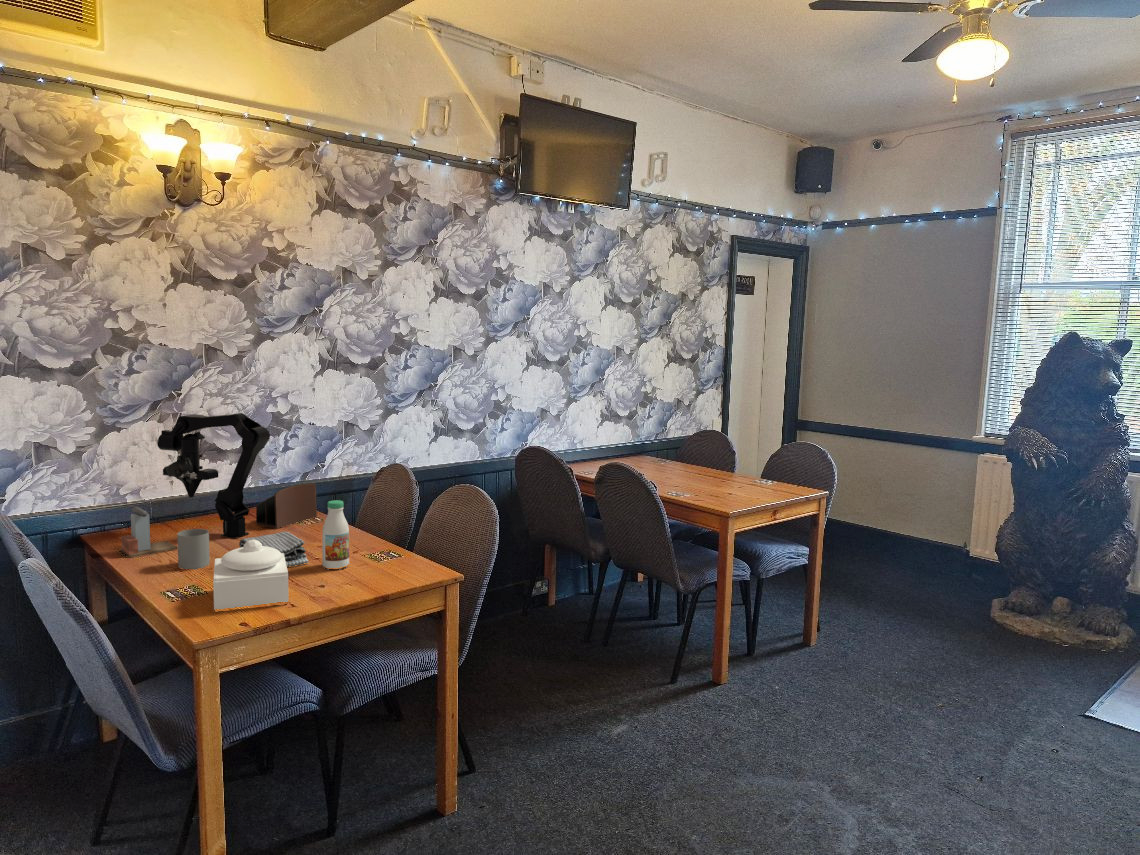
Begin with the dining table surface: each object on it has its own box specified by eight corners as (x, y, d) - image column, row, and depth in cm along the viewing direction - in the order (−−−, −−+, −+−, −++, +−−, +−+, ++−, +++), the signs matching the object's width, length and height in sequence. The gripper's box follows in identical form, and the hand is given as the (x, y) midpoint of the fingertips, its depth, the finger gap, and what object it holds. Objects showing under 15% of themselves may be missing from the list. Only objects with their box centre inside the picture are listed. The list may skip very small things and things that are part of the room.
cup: (174, 564, 229) (172, 532, 228) (202, 559, 235) (201, 527, 234) (185, 571, 223) (184, 538, 222) (214, 565, 229) (213, 533, 228)
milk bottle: (317, 568, 230) (316, 502, 227) (333, 561, 237) (332, 497, 235) (338, 572, 228) (338, 505, 225) (354, 564, 235) (354, 500, 232)
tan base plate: (166, 543, 250) (166, 528, 249) (177, 549, 244) (176, 534, 243) (120, 551, 240) (119, 535, 239) (130, 557, 234) (129, 541, 233)
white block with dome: (214, 613, 194) (212, 552, 191) (215, 590, 210) (213, 533, 208) (288, 605, 201) (287, 546, 198) (284, 583, 217) (283, 528, 215)
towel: (286, 551, 247) (286, 527, 246) (309, 565, 233) (309, 540, 232) (237, 559, 237) (236, 534, 236) (258, 575, 223) (258, 548, 222)
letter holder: (317, 517, 288) (316, 480, 286) (276, 529, 271) (275, 490, 269) (297, 514, 293) (296, 477, 291) (255, 525, 275) (254, 487, 273)
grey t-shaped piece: (143, 544, 244) (142, 505, 243) (152, 550, 239) (151, 510, 237) (129, 547, 241) (128, 507, 240) (138, 553, 236) (137, 512, 234)
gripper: (148, 453, 256) (150, 499, 258) (193, 457, 250) (194, 505, 252) (175, 448, 266) (176, 492, 268) (219, 452, 261) (220, 498, 263)
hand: (191, 497), depth 263 cm, fingers closed
